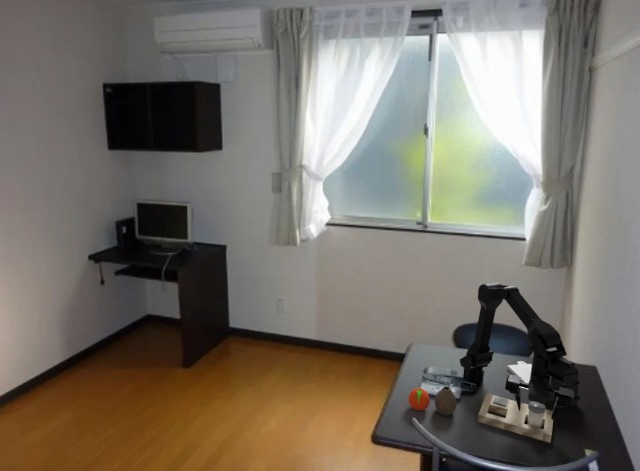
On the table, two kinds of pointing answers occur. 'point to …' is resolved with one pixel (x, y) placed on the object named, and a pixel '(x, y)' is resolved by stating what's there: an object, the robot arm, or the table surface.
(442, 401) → the vase
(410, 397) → the clementine
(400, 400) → the table surface
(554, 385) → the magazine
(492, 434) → the table surface
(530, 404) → the plug
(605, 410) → the table surface
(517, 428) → the socket board
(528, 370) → the mounting plate
